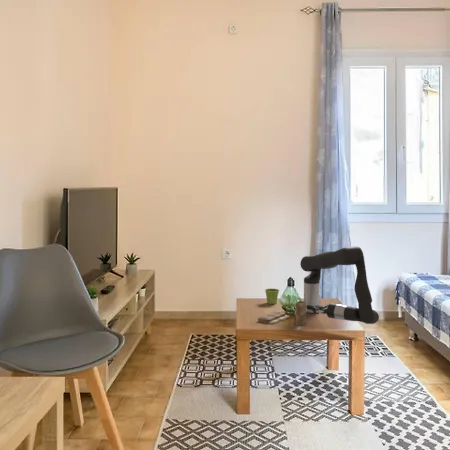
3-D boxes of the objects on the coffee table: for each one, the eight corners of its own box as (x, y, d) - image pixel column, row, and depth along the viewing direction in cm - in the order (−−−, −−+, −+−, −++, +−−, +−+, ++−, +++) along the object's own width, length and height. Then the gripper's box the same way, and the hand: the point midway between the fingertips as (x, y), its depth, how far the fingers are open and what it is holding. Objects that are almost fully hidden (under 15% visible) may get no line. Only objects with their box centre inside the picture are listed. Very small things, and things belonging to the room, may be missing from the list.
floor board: (275, 314, 274) (275, 311, 274) (289, 317, 269) (289, 313, 269) (257, 321, 260) (257, 317, 260) (272, 324, 254) (272, 320, 254)
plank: (306, 323, 255) (306, 301, 254) (301, 325, 251) (301, 303, 250) (300, 322, 257) (300, 300, 256) (295, 324, 253) (296, 302, 252)
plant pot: (282, 303, 304) (282, 289, 303) (272, 305, 297) (272, 292, 297) (271, 301, 311) (271, 287, 310) (261, 303, 304) (261, 290, 303)
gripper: (343, 302, 246) (313, 297, 256) (332, 306, 235) (301, 302, 246) (343, 316, 246) (312, 311, 257) (332, 321, 236) (301, 316, 246)
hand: (307, 306), depth 251 cm, fingers closed
